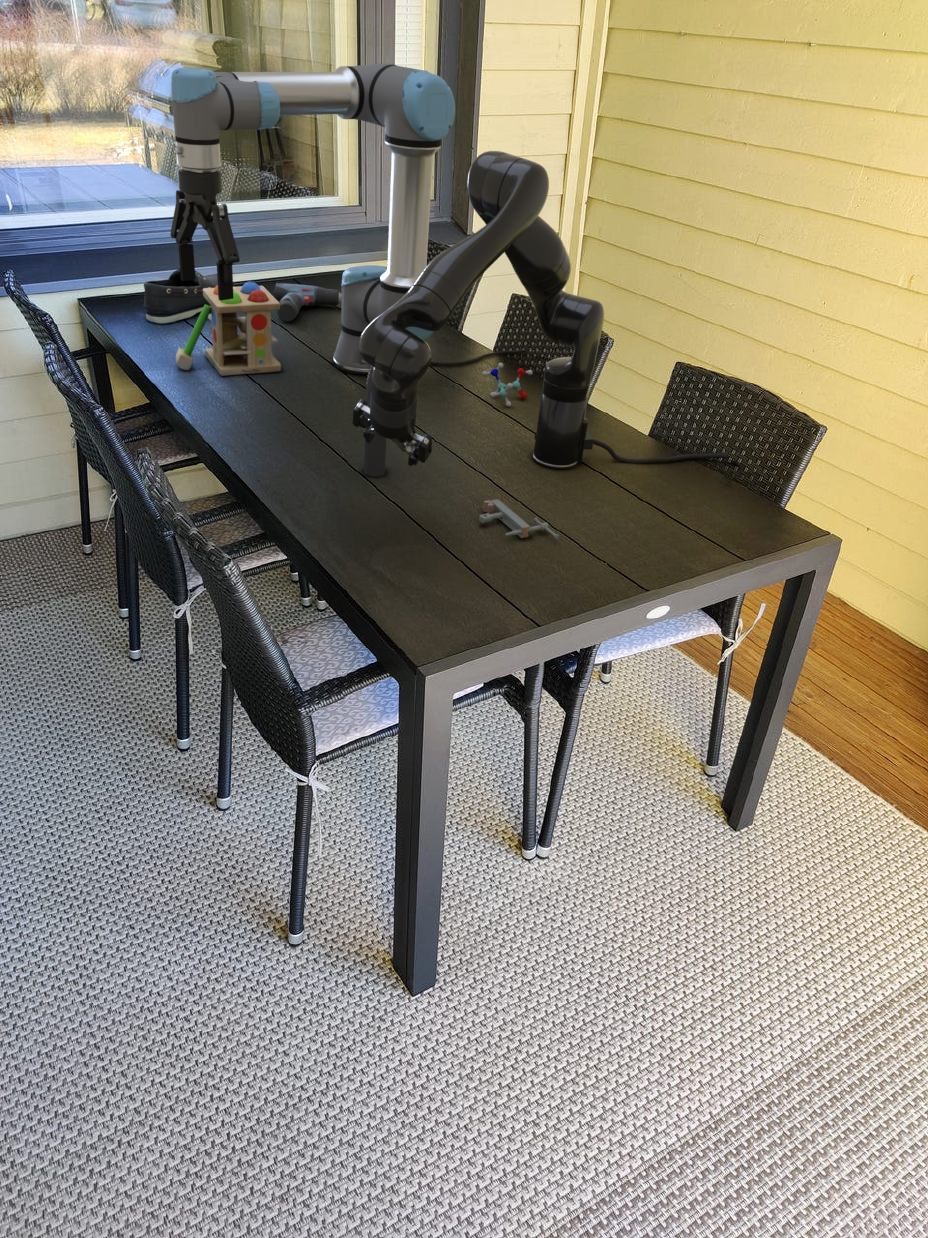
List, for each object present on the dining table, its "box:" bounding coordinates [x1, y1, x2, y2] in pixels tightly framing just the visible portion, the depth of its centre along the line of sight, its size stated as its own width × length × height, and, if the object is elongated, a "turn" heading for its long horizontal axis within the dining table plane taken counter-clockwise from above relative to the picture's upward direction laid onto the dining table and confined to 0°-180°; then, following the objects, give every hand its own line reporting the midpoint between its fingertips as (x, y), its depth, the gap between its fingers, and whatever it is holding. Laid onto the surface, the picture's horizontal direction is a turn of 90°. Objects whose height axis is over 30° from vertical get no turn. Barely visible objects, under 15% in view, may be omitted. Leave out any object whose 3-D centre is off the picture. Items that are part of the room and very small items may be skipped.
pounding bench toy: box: [174, 281, 282, 377], centre depth 225 cm, size 23×14×18 cm, turn 116°
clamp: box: [478, 498, 560, 540], centre depth 176 cm, size 15×2×10 cm
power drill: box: [274, 282, 342, 322], centre depth 265 cm, size 5×19×20 cm
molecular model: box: [481, 362, 534, 408], centre depth 225 cm, size 12×10×10 cm
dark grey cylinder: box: [363, 368, 387, 478], centre depth 184 cm, size 4×4×24 cm
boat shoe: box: [143, 268, 235, 324], centre depth 260 cm, size 13×33×10 cm, turn 147°
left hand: (206, 289), depth 186 cm, fingers open, 13 cm apart
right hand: (391, 449), depth 173 cm, fingers open, 8 cm apart
